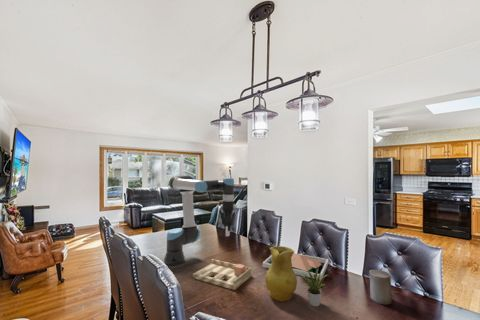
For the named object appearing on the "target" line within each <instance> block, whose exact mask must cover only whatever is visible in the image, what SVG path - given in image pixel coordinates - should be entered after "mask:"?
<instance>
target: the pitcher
mask: <svg viewBox="0 0 480 320" xmlns="http://www.w3.org/2000/svg"><path fill="white" fill-rule="evenodd" d="M269 250H270V253H271V254H270V255H272V260H271V261H270V264H271V266H270V268H268V270H267V272H266V273H265V285H266V286H265V287H266V289H267V291H269V293H268V295H269V297H271V298H272V299H274V300H275V301H277V302H278V301H279V302H286V301H290V300H291V299H292V298H293V293H295V291H296V289H297V285H298V278H297V275H296V274H295V272H294V271H293V269H294V267H292V261H291V260H292V259H291V257H292V255H293V253H295V249H293V248H291V247H288V246H282V245H276V246H275V245H274V246H270V247H269Z"/></svg>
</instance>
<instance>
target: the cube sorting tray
mask: <svg viewBox="0 0 480 320" xmlns="http://www.w3.org/2000/svg"><path fill="white" fill-rule="evenodd" d="M236 265H237V263H236V264H235V263H231V262H228V261H222V260H218V259H213V258H211V263H210V264H208V265H206V266H204V267H203V268H201V269H199V270H197V271H195V272H194V273H192V278H193V279H196V280H199V281H202V282H205V283H208V284H213V285H216V286H220V287H223V288H227V289H229V290H232V291H236V290H237V289H238V288H239V287H240V286H241V285H243V284H244V283H245V282H246V281H247V280H249V278H251V277H252V267H251V266H250V267H249V266H245V272H244V273H243V274H241V275H240V276H238V275H234V267H235V266H236ZM213 276H214V277H213Z"/></svg>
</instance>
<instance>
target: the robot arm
mask: <svg viewBox="0 0 480 320" xmlns="http://www.w3.org/2000/svg"><path fill="white" fill-rule="evenodd" d="M168 186H169V187H170V189H171V190H172V191H179V193H180V194H181V199H182V200H181V201H182V216H183V225H182V226H181V228H180V227H177V228H172V229H170V230H169V231H168V232H167V233H166V252H165V255H164V258H163V263H165V264H164V265H167V266H178V265H182V264H183V263H184V262H185V261H186V257H185V253H184V251H183V247H184V246H185V245H188V244H194V243H195V242H198V241H199V239H200V237H201V230H200V227H198V226H197V224H196V222H195V208H194V192H195V191H196V192H197V193H205V192H206V193H207V192H209V193H210V192H222V208H221V209H220V210H219V214H220V220H221V224H222V225H223V226H224V231H225V237H229V236H230V232H231V228H232V226H233V225H234V224H235V223H234V222H235V219H236V215H237V213H238V212H237V211H236V210H235V208H234V203H235V201H234V200H235V191H234V190H235V179H234V178H233V177H224V178H223V179H222V180H219V179H212V180H201V179H200V180H197V179H196V177H195V176H193V175H175V176H172V177H171V178H170V179H169V182H168Z"/></svg>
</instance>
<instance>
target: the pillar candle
mask: <svg viewBox="0 0 480 320" xmlns="http://www.w3.org/2000/svg"><path fill="white" fill-rule="evenodd" d="M391 280H392V279H391V274H390V273H389V272H387V271H384V270H380V269H371V270H369V290H370V293H369V294H370V299H371V300H372V301H373V302H374V303H377V304H380V305H391V304H392V301H393V300H392V283H391V282H392V281H391Z"/></svg>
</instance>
